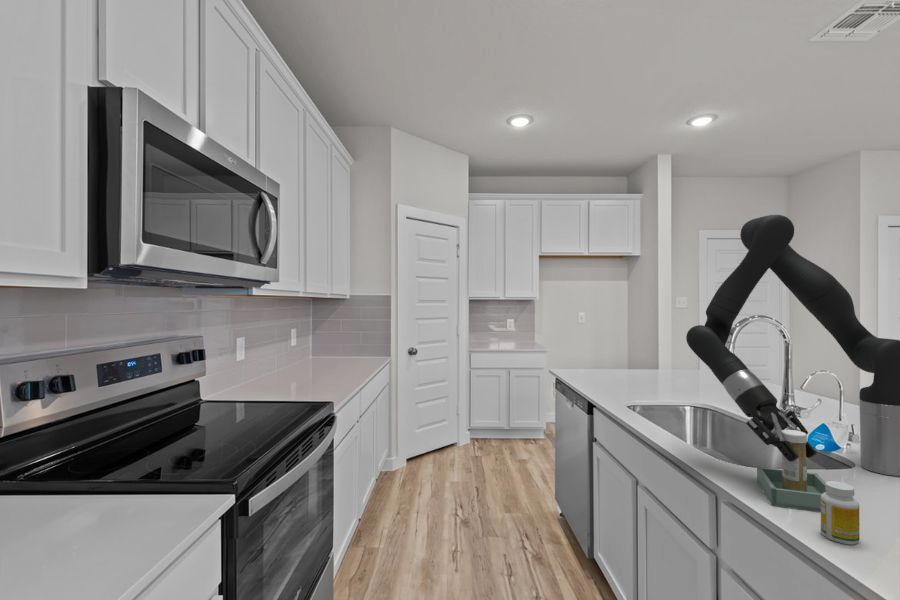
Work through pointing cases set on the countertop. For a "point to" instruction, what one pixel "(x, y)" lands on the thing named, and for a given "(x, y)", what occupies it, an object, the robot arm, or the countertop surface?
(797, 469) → the amber pill bottle
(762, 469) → the bin
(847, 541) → the supplement bottle
